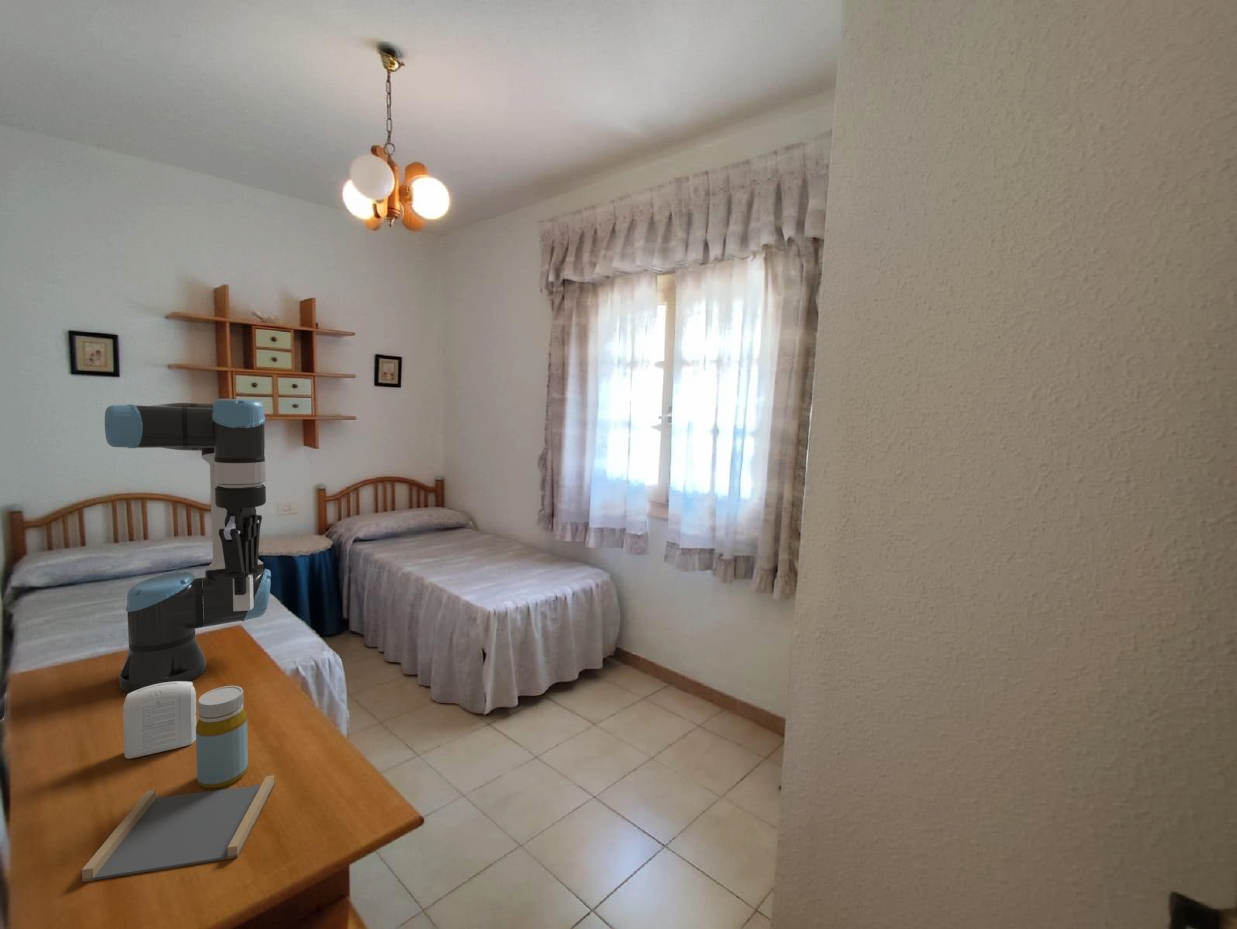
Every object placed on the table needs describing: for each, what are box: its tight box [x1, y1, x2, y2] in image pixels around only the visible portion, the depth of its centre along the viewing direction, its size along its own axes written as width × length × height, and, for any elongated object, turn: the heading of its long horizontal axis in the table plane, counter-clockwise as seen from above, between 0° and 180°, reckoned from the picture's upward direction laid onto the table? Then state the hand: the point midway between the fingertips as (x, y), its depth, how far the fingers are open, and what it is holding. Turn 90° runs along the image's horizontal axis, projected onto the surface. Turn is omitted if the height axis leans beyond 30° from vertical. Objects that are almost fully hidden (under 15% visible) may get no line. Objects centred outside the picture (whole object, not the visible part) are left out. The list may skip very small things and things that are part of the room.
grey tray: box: [81, 775, 275, 883], centre depth 80 cm, size 15×18×2 cm
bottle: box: [195, 685, 249, 790], centre depth 91 cm, size 7×7×15 cm
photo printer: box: [122, 681, 197, 760], centre depth 98 cm, size 10×4×12 cm, turn 123°
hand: (243, 609), depth 98 cm, fingers closed
